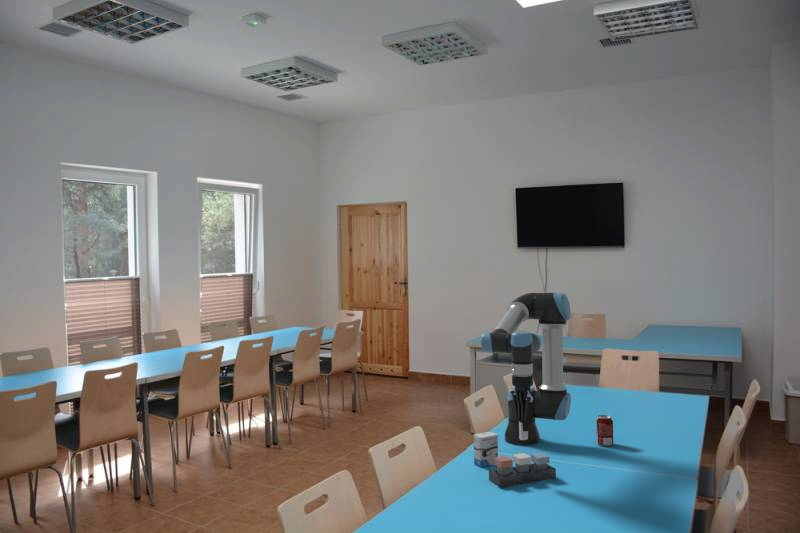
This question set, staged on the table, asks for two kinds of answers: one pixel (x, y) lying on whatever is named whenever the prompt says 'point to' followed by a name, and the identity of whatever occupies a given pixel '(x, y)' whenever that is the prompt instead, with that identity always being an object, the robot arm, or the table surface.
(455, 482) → the table surface
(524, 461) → the key white
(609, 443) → the soda can
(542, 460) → the key slate
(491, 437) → the ink box
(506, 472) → the key brick
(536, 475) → the console
